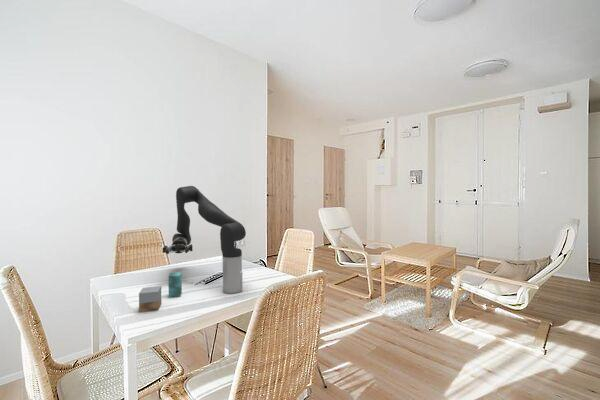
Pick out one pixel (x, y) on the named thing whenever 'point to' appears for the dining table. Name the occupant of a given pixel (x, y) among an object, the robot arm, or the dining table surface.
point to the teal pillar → (175, 284)
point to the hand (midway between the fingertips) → (176, 251)
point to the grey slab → (150, 294)
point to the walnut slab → (149, 306)
